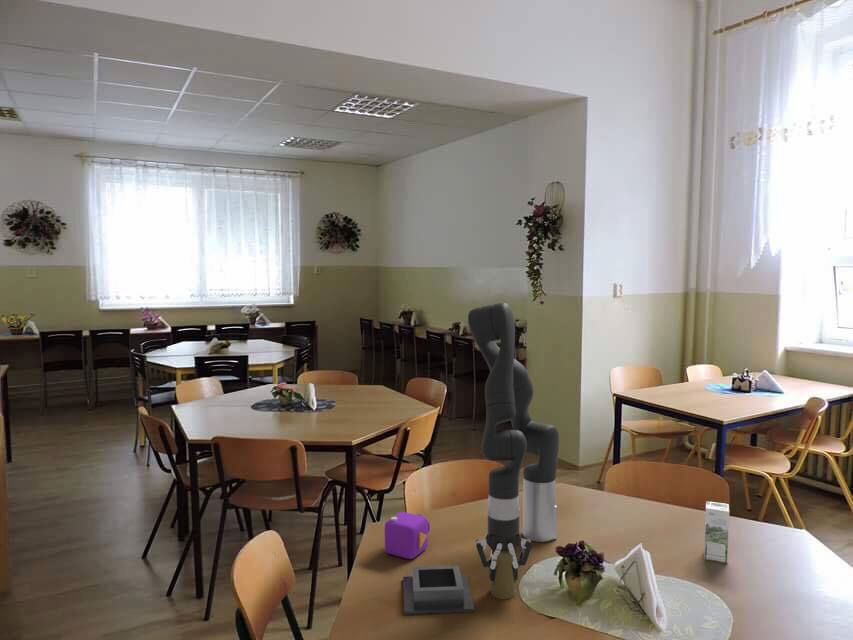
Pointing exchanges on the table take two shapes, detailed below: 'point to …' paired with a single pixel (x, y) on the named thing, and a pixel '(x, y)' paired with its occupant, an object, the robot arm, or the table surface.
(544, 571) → the table surface
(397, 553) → the toy camera
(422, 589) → the collar mount
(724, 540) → the syrup box
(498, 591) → the cork
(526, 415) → the robot arm
